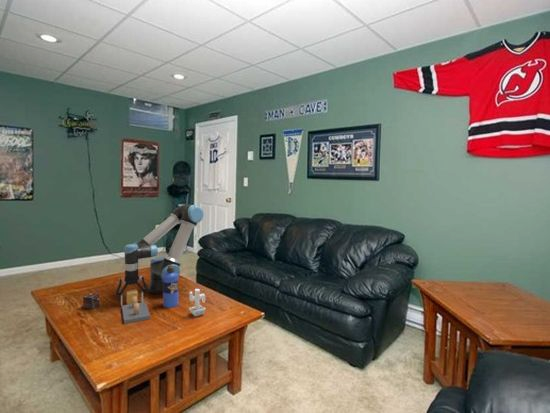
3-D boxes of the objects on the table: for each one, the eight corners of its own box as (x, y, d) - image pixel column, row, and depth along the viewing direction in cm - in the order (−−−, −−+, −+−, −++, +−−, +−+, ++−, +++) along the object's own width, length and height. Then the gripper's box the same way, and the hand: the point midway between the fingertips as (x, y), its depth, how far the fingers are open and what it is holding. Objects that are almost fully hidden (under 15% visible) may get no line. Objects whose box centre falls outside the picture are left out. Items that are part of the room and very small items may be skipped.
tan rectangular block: (137, 301, 194) (136, 289, 194) (138, 304, 189) (137, 292, 188) (126, 303, 191) (126, 290, 191) (127, 306, 186) (127, 293, 186)
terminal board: (145, 304, 189) (145, 292, 189) (150, 319, 170) (149, 305, 170) (122, 308, 183) (121, 295, 182) (124, 323, 164) (123, 309, 163)
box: (91, 309, 181) (91, 297, 180) (83, 308, 182) (82, 296, 181) (99, 305, 187) (99, 294, 186) (91, 304, 188) (90, 293, 187)
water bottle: (181, 304, 190) (181, 265, 188) (167, 309, 184) (167, 268, 182) (173, 300, 197) (173, 262, 195) (160, 304, 190) (159, 265, 188)
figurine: (207, 314, 178) (207, 289, 176) (192, 318, 172) (192, 293, 170) (202, 310, 183) (202, 286, 182) (187, 314, 177) (187, 289, 176)
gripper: (151, 265, 197) (151, 298, 199) (109, 270, 186) (110, 304, 188) (152, 268, 191) (153, 302, 193) (110, 273, 179) (111, 309, 181)
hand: (132, 303), depth 190 cm, fingers open, 11 cm apart
